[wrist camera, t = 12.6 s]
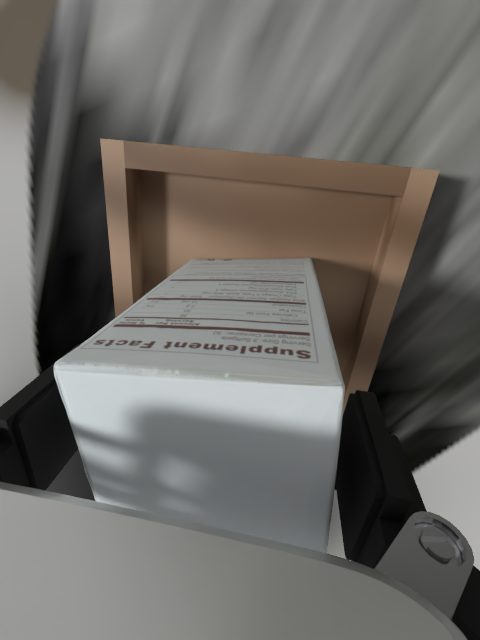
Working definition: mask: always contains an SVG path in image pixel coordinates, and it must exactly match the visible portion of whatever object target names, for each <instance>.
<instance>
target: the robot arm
mask: <svg viewBox="0 0 480 640" xmlns="http://www.w3.org/2000/svg"><path fill="white" fill-rule="evenodd" d="M80 345H81V344H78V345H77V346H75V347H74V348H73V349H72V350H74V349H75V348H77V347H78V346H80ZM72 350H70V351H69V352H68V353H70V352H71V351H72ZM68 353H67V354H68ZM67 354H65V355H67ZM65 355H64V356H65ZM64 356H63V357H64ZM60 359H61V358H60ZM54 364H55V363H54ZM54 364H53V365H52V366H50V367H49V368H48V369H47V370H46V371H44V372H43V373H42V374H41V375H39V376H38V377H37V378H36V379H34V380H33V381H32V382H31V383H30V384H28V385H27V386H26V387H24V388H23V389H22V390H21V391H19V392H18V393H17V394H16V395H15V396H13V397H12V398H11V399H10V400H8V401H7V402H6V403H5V404H3V405H2V406H1V407H0V640H480V571H479V570H478V569H477V568H476V567H475V566H473V563H474V556H473V552H472V549H471V547H470V545H469V544H468V541H467V540H466V538H465V537H464V536H463V535H462V533H461V532H460V531H459V530H458V529H457V528H456V527H455V526H454V525H453V524H451V523H450V522H449V521H447V520H446V519H444V518H442V517H441V516H439V515H436V514H434V513H431V512H427V511H426V509H425V506H424V504H423V501H422V498H421V496H420V493H419V491H418V488H417V485H416V483H415V480H414V478H413V475H412V472H411V470H410V467H409V465H408V462H407V459H406V457H405V454H404V452H403V449H402V446H401V444H400V441H399V439H398V437H396V436H395V435H391V434H389V432H388V429H387V426H386V423H385V421H384V418H383V415H382V412H381V409H380V407H379V404H378V401H377V398H376V395H375V393H373V392H367V391H361V390H356V392H355V394H354V393H350V394H349V397H348V400H347V403H346V407H345V410H344V413H343V417H342V427H341V436H340V445H339V453H338V462H337V471H336V480H335V482H336V489H337V497H338V504H339V511H340V520H341V527H342V535H343V543H344V550H345V556H346V558H347V559H348V560H347V559H344V558H340V557H337V556H333V555H330V554H327V553H322V552H318V551H314V550H310V549H306V548H302V547H298V546H294V545H290V544H285V543H281V542H277V541H273V540H269V539H264V538H260V537H255V536H251V535H246V534H242V533H237V532H233V531H228V530H224V529H220V528H215V527H211V526H206V525H202V524H197V523H193V522H188V521H184V520H179V519H175V518H170V517H165V516H161V515H156V514H152V513H147V512H143V511H138V510H133V509H129V508H124V507H120V506H115V505H110V504H106V503H101V502H96V501H92V500H87V499H82V498H78V497H73V496H68V495H63V494H58V493H54V492H49V491H45V490H46V489H47V488H48V487H49V485H50V484H51V483H52V481H53V480H54V479H55V478H56V476H57V475H58V474H59V472H60V471H61V470H62V469H63V467H64V466H65V465H66V463H67V462H68V461H69V459H70V458H71V457H72V456H73V454H74V453H75V452H76V451H77V449H78V445H77V442H76V439H75V437H74V433H73V430H72V427H71V424H70V421H69V418H68V415H67V411H66V409H65V406H64V403H63V401H62V398H61V395H60V392H59V388H58V385H57V382H56V380H55V376H54ZM350 560H352V561H350Z"/></svg>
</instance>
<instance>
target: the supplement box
mask: <svg viewBox="0 0 480 640" xmlns="http://www.w3.org/2000/svg"><path fill="white" fill-rule="evenodd" d="M54 376H55V380H56V382H57V385H58V388H59V392H60V395H61V398H62V401H63V403H64V406H65V409H66V411H67V415H68V418H69V421H70V424H71V427H72V430H73V433H74V437H75V439H76V442H77V445H78V448H79V451H80V454H81V458H82V461H83V463H84V469H85V472H86V475H87V478H88V480H89V482H90V485H91V488H92V491H93V494H94V497H95V500H96V502H101V503H106V504H110V505H115V506H120V507H124V508H129V509H133V510H138V511H143V512H147V513H152V514H156V515H161V516H165V517H170V518H175V519H179V520H184V521H188V522H193V523H197V524H202V525H206V526H211V527H215V528H220V529H224V530H228V531H233V532H237V533H242V534H246V535H251V536H255V537H260V538H264V539H269V540H273V541H277V542H281V543H285V544H290V545H294V546H298V547H302V548H306V549H310V550H314V551H318V552H322V553H326V552H327V545H328V538H329V529H330V521H331V513H332V505H333V497H334V488H335V480H336V471H337V462H338V453H339V445H340V436H341V427H342V417H343V405H344V394H345V385H344V382H343V379H342V375H341V371H340V367H339V363H338V359H337V355H336V351H335V348H334V344H333V340H332V336H331V333H330V329H329V324H328V320H327V315H326V311H325V307H324V303H323V299H322V296H321V292H320V288H319V284H318V281H317V277H316V273H315V270H314V266H313V263H312V259H311V258H239V259H234V258H229V259H227V258H223V259H217V258H215V259H192V260H190V261H189V262H188V263H187V264H185V265H184V266H183V267H181V268H180V269H178V270H177V271H176V272H174V273H173V274H172V275H170V276H169V277H168V278H167V279H165V280H164V281H163V282H161V283H160V284H159V285H157V286H156V287H155V288H154V289H152V290H151V291H150V292H148V293H147V294H146V295H145V296H143V297H142V298H141V299H139V300H138V301H137V302H136V303H134V304H133V305H132V306H131V307H129V308H128V309H127V310H125V311H124V312H123V313H122V314H120V315H119V316H118V317H116V318H115V319H114V320H112V321H111V322H110V323H108V324H107V325H106V326H105V327H103V328H102V329H101V330H99V331H98V332H97V333H96V334H94V335H93V336H92V337H90V338H89V339H88V340H86V341H85V342H84V343H82V344H81V345H80V346H78V347H77V348H75V349H74V350H72V351H71V352H70V353H68V354H67V355H65V356H64V357H62V358H61V359H59V360H58V361H57V362H55V364H54Z"/></svg>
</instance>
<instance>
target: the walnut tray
mask: <svg viewBox="0 0 480 640" xmlns="http://www.w3.org/2000/svg"><path fill="white" fill-rule="evenodd" d="M100 141H101V153H102V164H103V176H104V188H105V199H106V211H107V223H108V234H109V246H110V257H111V269H112V281H113V292H114V304H115V316H116V317H118V316H119V315H120V314H122V313H123V312H124V311H125V310H127V309H128V308H129V307H131V306H132V305H133V304H134V303H136V302H137V301H138V300H139V299H141V298H142V297H143V296H145V295H146V294H147V293H148V292H150V291H151V290H152V289H154V288H155V287H156V286H157V285H159V284H160V283H161V282H163V281H164V280H165V279H167V278H168V277H169V276H170V275H172V274H173V273H174V272H176V271H177V270H178V269H180V268H181V267H183V266H184V265H185V264H187V263H188V262H189V261H190V260H192V259H215V258H217V259H223V258H227V259H229V258H234V259H239V258H311V259H312V263H313V266H314V270H315V273H316V277H317V281H318V284H319V288H320V292H321V296H322V299H323V303H324V307H325V311H326V315H327V320H328V324H329V329H330V333H331V336H332V340H333V344H334V348H335V351H336V355H337V359H338V363H339V367H340V371H341V375H342V379H343V382H344V385H345V394H344V405H343V413H344V410H345V407H346V403H347V400H348V397H349V394H350V393H354V394H355V392H356V390H361V391H367V392H368V389H369V386H370V383H371V379H372V376H373V373H374V370H375V367H376V364H377V361H378V358H379V355H380V352H381V349H382V346H383V343H384V340H385V337H386V334H387V330H388V327H389V324H390V321H391V318H392V315H393V312H394V309H395V306H396V303H397V300H398V297H399V294H400V291H401V288H402V285H403V282H404V278H405V275H406V272H407V269H408V266H409V263H410V260H411V257H412V254H413V251H414V248H415V245H416V242H417V239H418V236H419V233H420V229H421V226H422V223H423V220H424V217H425V214H426V211H427V208H428V205H429V202H430V199H431V196H432V193H433V190H434V187H435V184H436V181H437V177H438V174H439V171H440V170H430V169H419V168H409V167H398V166H388V165H377V164H366V163H356V162H345V161H334V160H324V159H313V158H302V157H292V156H281V155H270V154H260V153H249V152H238V151H228V150H217V149H206V148H196V147H185V146H174V145H164V144H153V143H142V142H132V141H121V140H110V139H100Z"/></svg>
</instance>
